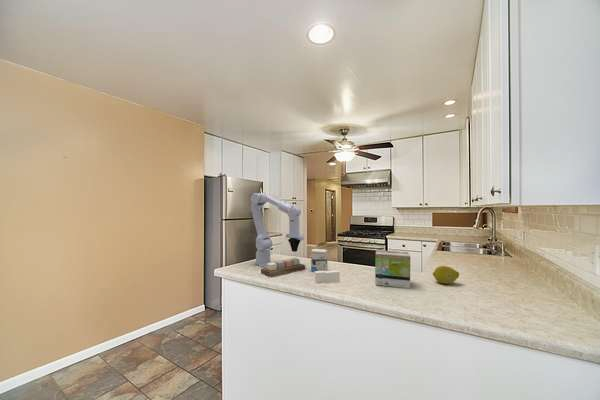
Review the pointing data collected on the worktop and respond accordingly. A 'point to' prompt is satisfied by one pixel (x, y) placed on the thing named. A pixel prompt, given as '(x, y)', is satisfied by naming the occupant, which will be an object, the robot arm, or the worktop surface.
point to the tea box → (392, 268)
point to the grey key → (280, 264)
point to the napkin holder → (327, 276)
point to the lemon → (445, 274)
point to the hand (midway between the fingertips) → (294, 251)
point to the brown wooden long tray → (282, 270)
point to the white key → (271, 266)
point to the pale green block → (295, 261)
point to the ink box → (318, 260)
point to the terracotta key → (287, 262)
